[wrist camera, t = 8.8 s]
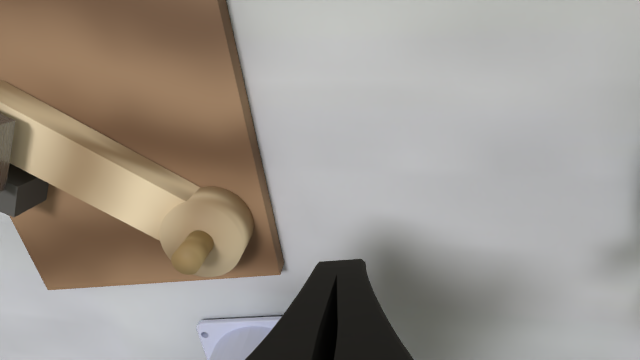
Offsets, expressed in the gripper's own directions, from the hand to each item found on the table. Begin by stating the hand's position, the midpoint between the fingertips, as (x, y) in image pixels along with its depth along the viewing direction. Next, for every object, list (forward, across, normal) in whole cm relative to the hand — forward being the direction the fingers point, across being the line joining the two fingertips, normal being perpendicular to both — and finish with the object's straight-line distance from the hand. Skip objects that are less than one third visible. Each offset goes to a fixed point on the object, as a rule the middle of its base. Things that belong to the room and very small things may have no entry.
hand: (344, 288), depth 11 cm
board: (+10, +13, -3) cm, 17 cm away
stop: (+9, +18, -2) cm, 21 cm away
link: (+9, +12, -1) cm, 15 cm away
